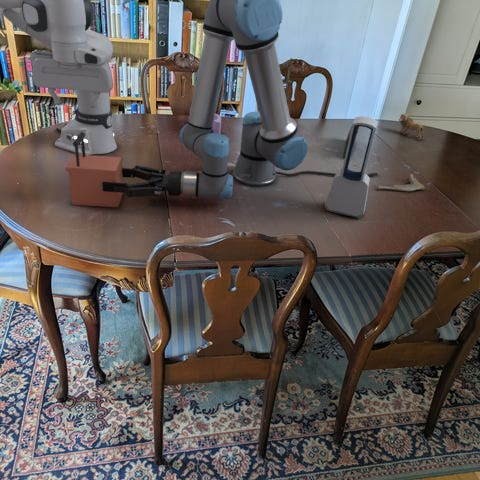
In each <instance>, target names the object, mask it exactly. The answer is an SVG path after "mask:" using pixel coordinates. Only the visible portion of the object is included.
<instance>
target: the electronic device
mask: <svg viewBox="0 0 480 480" xmlns="http://www.w3.org/2000/svg"><path fill="white" fill-rule="evenodd" d="M352 124H353V125H352ZM352 124H351V127H352V129H351V128H350V129H351V133H350V138H349V142H348V146H347V151H346V155H345V158H344V161H343V164H342V168H341V169H338V170H337V171H336V173H335V174H336V175H335V176H334V177H333V180H332V182H331V186H330V188H329V192H328V195H327V197H326V201H325V203H324V208H325V210H326V211H327V212H330V213H334V214H339V215H343V216H347V217H350V218H351V217H352V218H356V219H360V218H362V217H363V216H364V215H365V211H366V206H367V201H368V194H369V187H370V181H371V180H370V179H371V177H370V176H368V175H367V174H368V173H366V170H367V167H368V163H369V160H370V159H369V158H370V155H371V151H372V147H373V144H374V140H375V136H376V133H377V129H378V124H379V121H378V120H376V119H375V118H372V117H370V116H361V115H359V116H356V117H355V118H354V120H353V122H352ZM357 127H359V128H360V127H362V128H367V129H369V130H370V133H369V138H368V141H367V145H366V150H365V154H364V157H363V161H362V164H361V169H360V171H354V170H351V169H349V166H350V162H351V161H350V160H351V156H352V153H353V148H354V146H353V144H354V145H355V143H354V140H355V136H356V131H357ZM356 137H357V136H356ZM355 141H356V140H355Z"/></svg>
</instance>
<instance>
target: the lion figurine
mask: <svg viewBox="0 0 480 480" xmlns="http://www.w3.org/2000/svg"><path fill="white" fill-rule="evenodd" d="M398 123H400V125H401V127H402V128H404V129H403V132H402V135H404V136H405V135H406V134H407V133H408V132H406V131H409V130H411V131H415V132H416V134H417V135H418V136H417V135H415V137H416V138H417V141H420V140H421V139H423V138H425V136H424V125H423V124H422V123H419V122H415V121H414V120H413V119H412V118H411V117H410V116H409V115H408V114H406V113H402V114H401V113H400V116H399V119H398ZM404 132H405V133H404ZM419 138H421V139H419Z"/></svg>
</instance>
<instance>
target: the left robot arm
mask: <svg viewBox="0 0 480 480" xmlns="http://www.w3.org/2000/svg"><path fill="white" fill-rule="evenodd" d="M0 15H2V16H3V17H4V18H5V19H7V20H8V21H9V22H10V23H11V24H12V25H14V26H15V27H16V28H17V29H19V30H20V31H22V32H23V33H24V34H26V35H28V36H29V37H31V38H32V39H34V40H36V41H38V42H39V43H41V44H43V45H44V46H45V47H48V48H49V50H46V49H45V50H43V49H35V50H34V51H31V52H30V54H29V59H30V60H29V61H30V64H31V66H32V70H31V71H32V75H31V76H32V84H34V86H35V87H36V88H43V89H47V90H48V93H49V95H50V97H52V99H53V104H54V105H55V106H61V105H62V104H63V103H62V97H61V96H58V94H57V93H56V91H57V90H66V91H76V99H77V100H76V101H77V108H76V109H75V110H74V111H71V115H72V116H74V115H75V116H74V118H73V119H72V120H71V121H69V122H68V123H67V122H66V123H64V124H63V126H62V128H61V129H60V128H58V127H56V128H55V130H56V131H57V132H59V133H60V137H59V138H57V139H56V140H55V142H54V146H55V147H57V148H59V149H62V150H65V151H69V152H72V153H74V154H75V147H74V146H73V142H74V141H75V139H76V138H77V137H78V135H79V134H80V133H81V132H83V133H84V134H85V137H84V146H85V155H91V156H93V155H105V154H108V153H111V152H114V151H115V150H116V149H117V148H118V145H117V142H116V140H115V133H114V131H113V111H112V109H111V97H110V92H111V91H112V90H113V88H114V80H113V73H112V68H111V66H110V64H109V63H110V61H111V59H112V57H113V54H114V45H113V42H112V41H111V40H110V38H109V37H108V36H106V35H105V34H103V33H101V32H97V31H94V30H92V29H90V27H91V26H92V23H93V22H94V18H95V8H94V4H93V3H92V1H91V0H0ZM78 153H79V155H82V145H81V143H80V144H79V145H78Z"/></svg>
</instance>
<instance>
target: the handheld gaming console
mask: <svg viewBox="0 0 480 480" xmlns="http://www.w3.org/2000/svg"><path fill="white" fill-rule="evenodd" d="M352 125H353V123H352V124H351V127H350V129H349V131H348V133H347V135H346V136H347V137H346V141H345V146H344V150H343V154H342V158H343V159H345V155H346V151H347V146H348V142H349V138H350V133H351V129H352ZM359 129H360V126H359V127H357V131H356V136H355V140H354V144H353V147H354V145H355V144H356V141H357V136H358V133H359Z"/></svg>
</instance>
